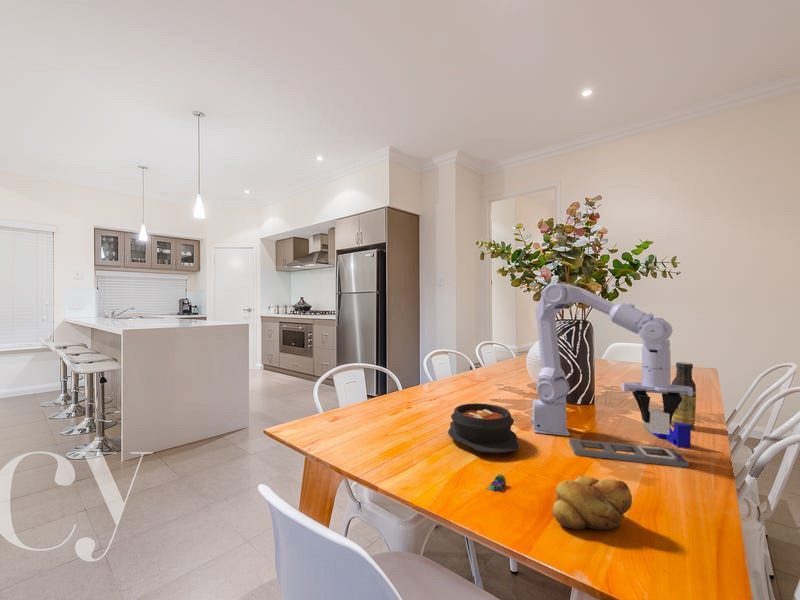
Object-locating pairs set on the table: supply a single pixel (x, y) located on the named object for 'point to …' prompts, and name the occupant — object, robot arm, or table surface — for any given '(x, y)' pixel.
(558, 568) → the table surface
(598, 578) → the table surface
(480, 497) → the table surface
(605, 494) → the bread roll
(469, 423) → the casserole
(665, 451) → the grey slotted tray
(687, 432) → the cable clip
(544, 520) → the table surface
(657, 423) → the pale grey upright block
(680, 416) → the sauce bottle
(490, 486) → the green purple lumpy wedge
